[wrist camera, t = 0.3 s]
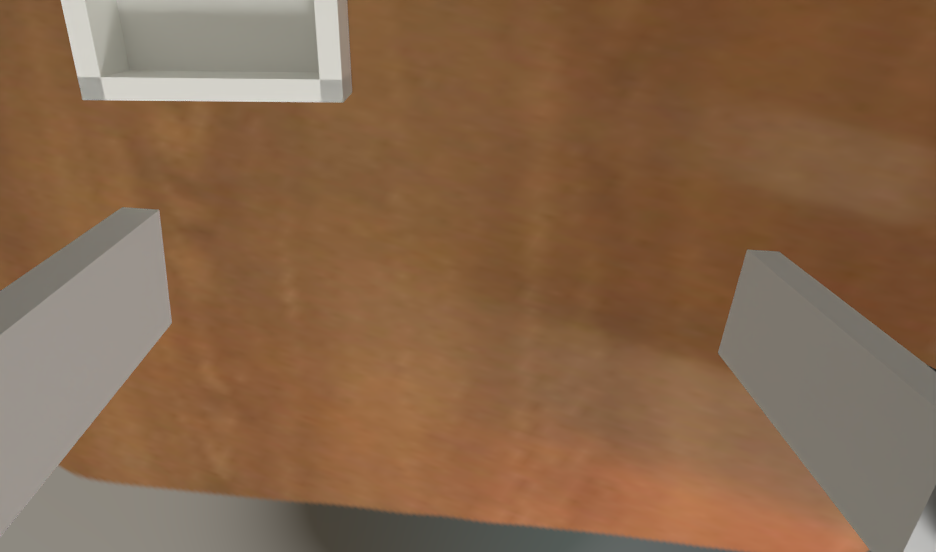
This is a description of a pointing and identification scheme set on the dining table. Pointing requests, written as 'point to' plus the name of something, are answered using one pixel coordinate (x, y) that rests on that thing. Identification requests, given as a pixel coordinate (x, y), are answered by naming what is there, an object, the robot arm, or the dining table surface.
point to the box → (211, 50)
